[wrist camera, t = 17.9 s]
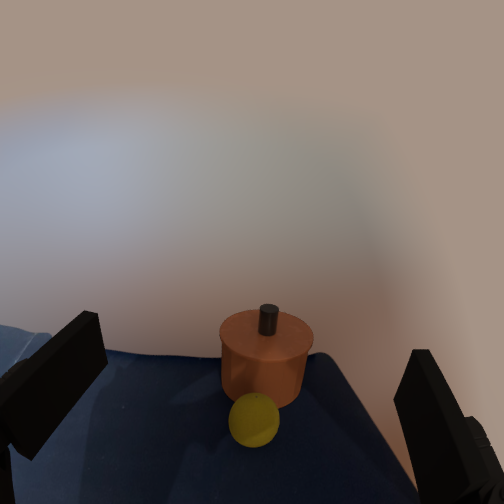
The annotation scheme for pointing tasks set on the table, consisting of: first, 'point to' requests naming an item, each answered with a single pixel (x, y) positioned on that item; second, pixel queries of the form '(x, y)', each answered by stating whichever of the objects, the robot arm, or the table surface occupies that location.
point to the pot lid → (266, 335)
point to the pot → (262, 377)
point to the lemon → (254, 420)
